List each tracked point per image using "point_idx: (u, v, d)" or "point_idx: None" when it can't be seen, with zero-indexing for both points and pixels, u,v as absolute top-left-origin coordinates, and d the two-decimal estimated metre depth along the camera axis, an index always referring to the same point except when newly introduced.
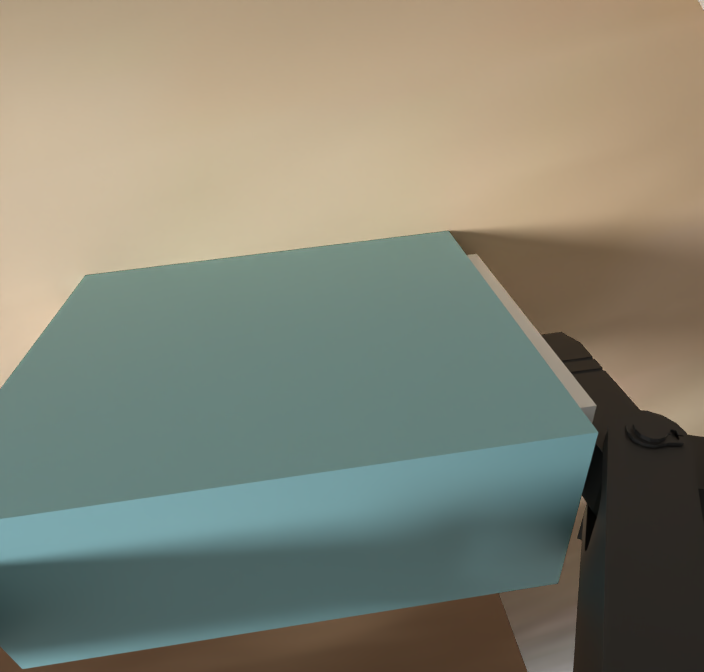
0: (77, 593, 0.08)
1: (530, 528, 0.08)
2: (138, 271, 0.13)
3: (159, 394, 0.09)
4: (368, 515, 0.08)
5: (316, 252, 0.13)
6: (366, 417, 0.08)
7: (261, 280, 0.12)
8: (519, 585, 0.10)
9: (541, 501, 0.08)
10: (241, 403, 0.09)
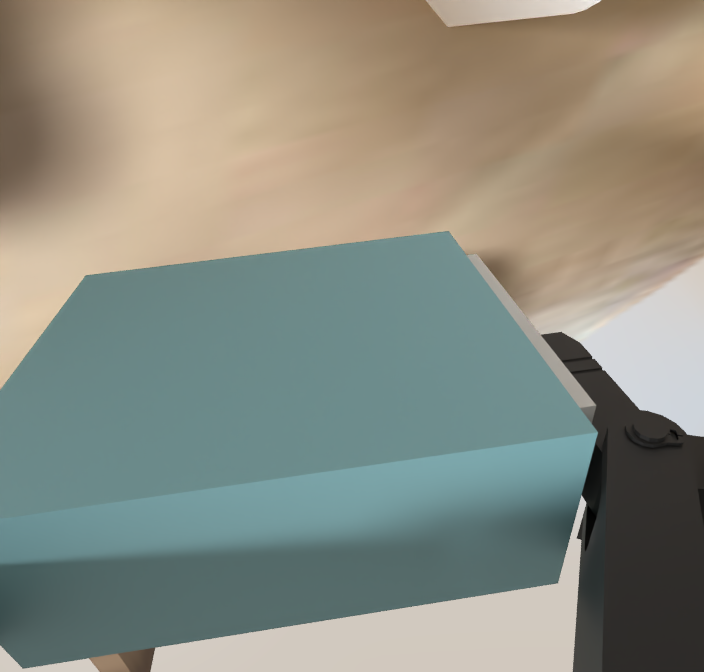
0: (78, 592, 0.08)
1: (530, 528, 0.08)
2: (139, 271, 0.13)
3: (159, 395, 0.09)
4: (368, 516, 0.08)
5: (316, 252, 0.14)
6: (366, 417, 0.08)
7: (261, 280, 0.12)
8: (518, 585, 0.10)
9: (541, 501, 0.08)
10: (242, 402, 0.09)
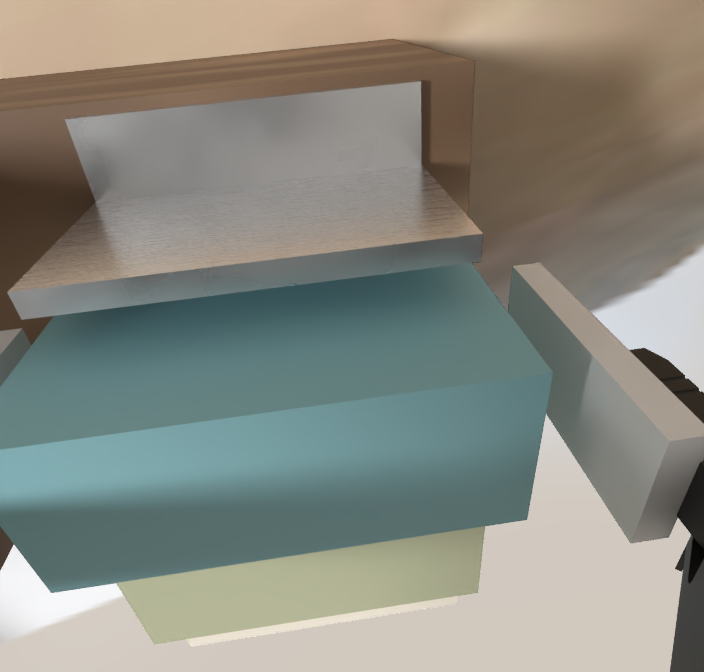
0: (102, 518, 0.09)
1: (498, 464, 0.10)
2: None
3: (172, 349, 0.10)
4: (355, 448, 0.09)
5: None
6: (354, 364, 0.09)
7: None
8: (492, 521, 0.11)
9: (507, 438, 0.09)
10: (246, 354, 0.10)
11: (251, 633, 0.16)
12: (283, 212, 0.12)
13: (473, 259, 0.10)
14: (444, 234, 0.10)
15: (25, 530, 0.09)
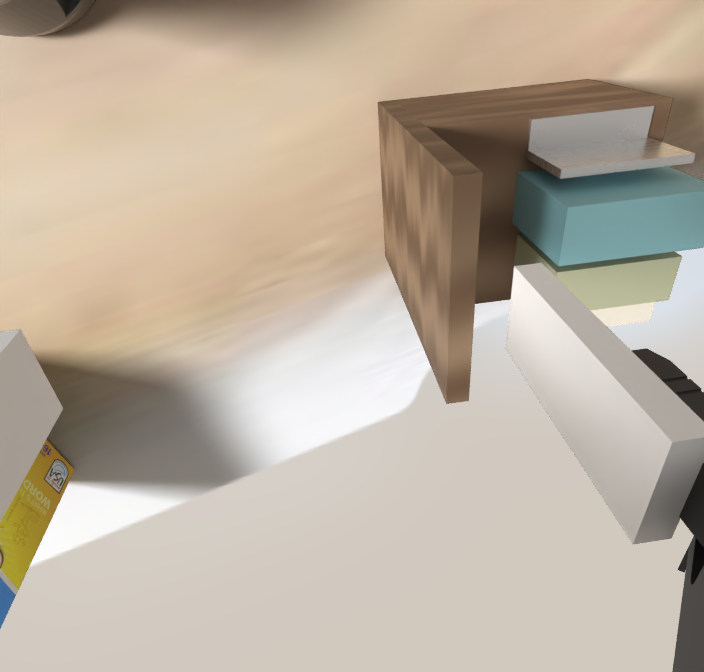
0: (589, 234, 0.32)
1: (700, 222, 0.32)
2: (537, 170, 0.37)
3: (597, 190, 0.33)
4: (664, 212, 0.32)
5: None
6: (662, 189, 0.32)
7: None
8: (691, 248, 0.33)
9: None
10: (624, 189, 0.32)
11: None
12: (616, 151, 0.34)
13: (691, 162, 0.33)
14: (683, 154, 0.32)
15: (568, 237, 0.32)
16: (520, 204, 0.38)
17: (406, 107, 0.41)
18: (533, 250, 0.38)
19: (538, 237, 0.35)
